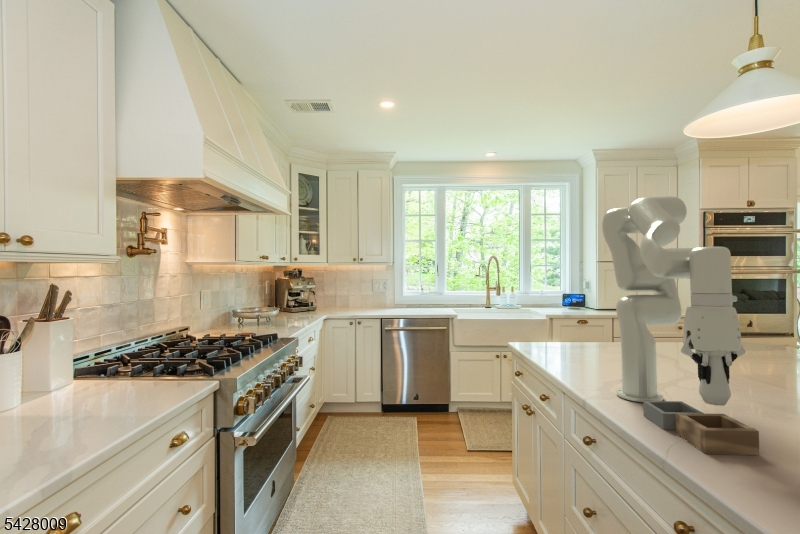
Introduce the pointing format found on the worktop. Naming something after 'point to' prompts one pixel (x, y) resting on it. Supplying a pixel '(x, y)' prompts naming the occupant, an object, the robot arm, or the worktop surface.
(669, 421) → the grey open tray
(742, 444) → the brown wooden open box
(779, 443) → the worktop surface
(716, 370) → the salt shaker
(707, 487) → the worktop surface
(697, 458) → the worktop surface
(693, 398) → the worktop surface
